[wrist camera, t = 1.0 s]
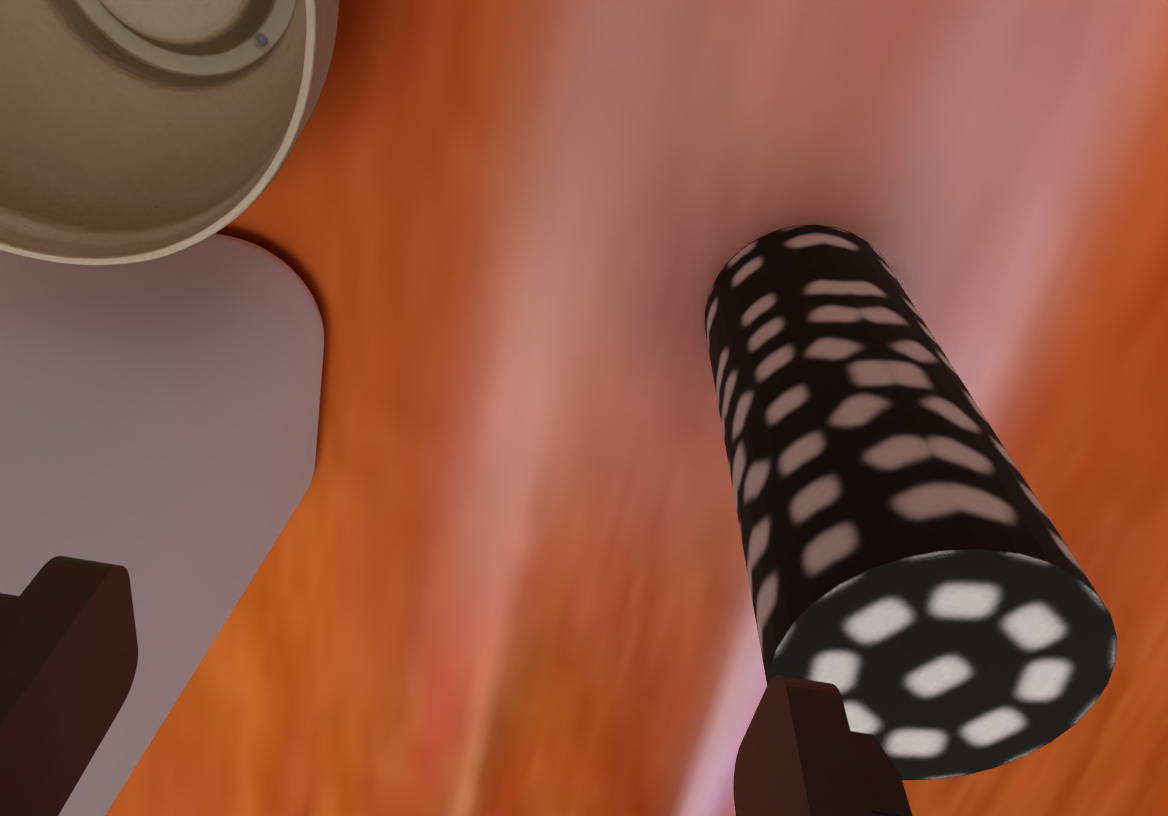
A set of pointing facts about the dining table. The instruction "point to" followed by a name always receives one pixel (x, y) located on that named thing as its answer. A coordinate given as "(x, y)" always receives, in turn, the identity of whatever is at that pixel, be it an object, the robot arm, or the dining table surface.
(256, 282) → the plastic bottle
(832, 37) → the dining table surface
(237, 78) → the planter bowl
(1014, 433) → the dining table surface
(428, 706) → the dining table surface
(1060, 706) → the spotted tube
